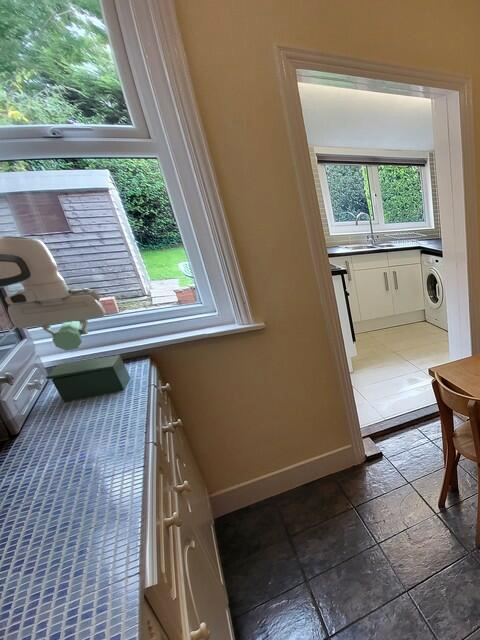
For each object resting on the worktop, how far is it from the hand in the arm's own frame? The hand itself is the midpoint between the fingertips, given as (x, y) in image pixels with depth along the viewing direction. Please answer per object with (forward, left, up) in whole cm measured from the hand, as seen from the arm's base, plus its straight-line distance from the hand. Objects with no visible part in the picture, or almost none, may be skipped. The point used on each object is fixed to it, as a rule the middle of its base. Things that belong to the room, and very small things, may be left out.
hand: (71, 336), depth 130 cm
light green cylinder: (0, 0, -2) cm, 2 cm away
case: (0, 0, -19) cm, 19 cm away
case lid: (0, 0, -11) cm, 11 cm away
